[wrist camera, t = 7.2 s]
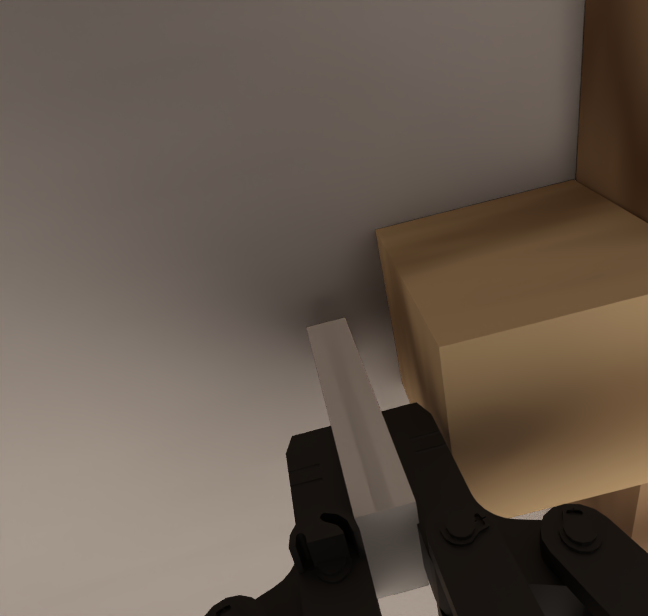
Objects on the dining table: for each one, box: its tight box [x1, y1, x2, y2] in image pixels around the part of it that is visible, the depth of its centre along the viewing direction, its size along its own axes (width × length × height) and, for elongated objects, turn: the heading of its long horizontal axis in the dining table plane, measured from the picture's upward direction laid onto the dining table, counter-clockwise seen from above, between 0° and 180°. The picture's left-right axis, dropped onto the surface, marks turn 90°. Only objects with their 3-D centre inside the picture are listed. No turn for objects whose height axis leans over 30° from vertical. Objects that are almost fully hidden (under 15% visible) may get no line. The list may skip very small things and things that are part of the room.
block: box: [375, 180, 648, 518], centre depth 15 cm, size 6×6×6 cm
